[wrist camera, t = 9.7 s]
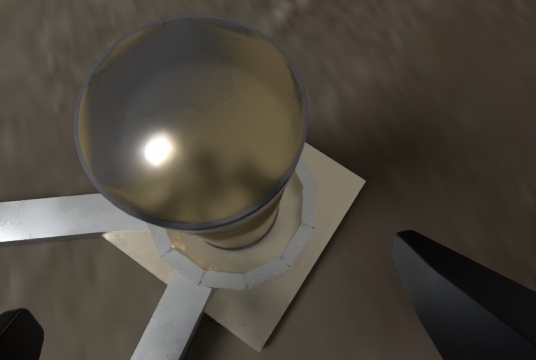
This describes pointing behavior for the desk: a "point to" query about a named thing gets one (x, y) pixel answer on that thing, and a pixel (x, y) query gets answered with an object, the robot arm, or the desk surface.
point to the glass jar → (194, 127)
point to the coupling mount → (205, 254)
